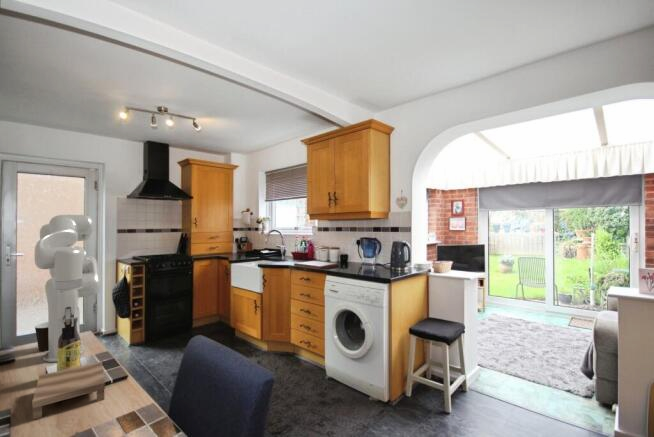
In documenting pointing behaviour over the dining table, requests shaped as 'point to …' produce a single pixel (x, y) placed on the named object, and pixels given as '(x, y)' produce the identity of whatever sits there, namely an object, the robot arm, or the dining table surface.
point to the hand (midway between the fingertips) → (68, 334)
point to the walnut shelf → (68, 385)
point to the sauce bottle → (69, 351)
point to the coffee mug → (42, 337)
